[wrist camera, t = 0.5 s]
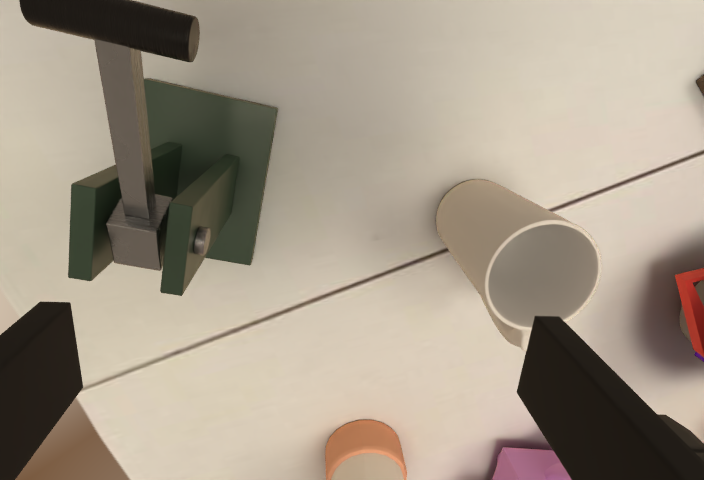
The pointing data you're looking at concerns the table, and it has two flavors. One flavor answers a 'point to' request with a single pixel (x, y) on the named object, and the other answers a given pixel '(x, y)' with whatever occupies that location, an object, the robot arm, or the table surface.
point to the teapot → (529, 465)
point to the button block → (701, 83)
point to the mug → (518, 256)
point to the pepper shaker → (364, 453)
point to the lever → (127, 104)
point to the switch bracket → (186, 184)
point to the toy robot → (692, 308)
